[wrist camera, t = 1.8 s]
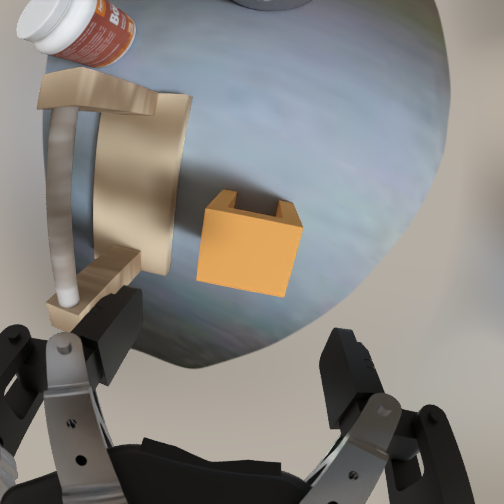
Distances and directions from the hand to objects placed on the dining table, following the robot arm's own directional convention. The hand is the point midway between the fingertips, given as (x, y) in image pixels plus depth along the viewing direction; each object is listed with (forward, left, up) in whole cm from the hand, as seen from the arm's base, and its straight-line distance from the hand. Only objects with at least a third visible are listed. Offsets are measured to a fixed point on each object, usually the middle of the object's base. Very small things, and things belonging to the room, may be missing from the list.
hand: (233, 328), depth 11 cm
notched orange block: (0, 0, -14) cm, 14 cm away
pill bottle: (-16, -17, -14) cm, 27 cm away
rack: (-2, -11, -14) cm, 18 cm away
